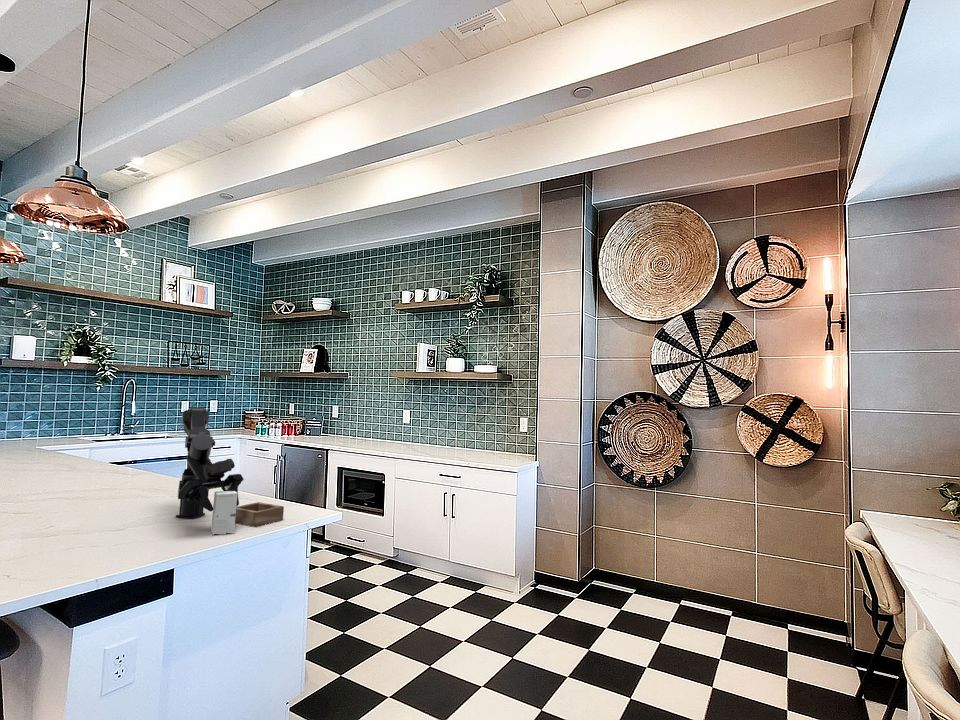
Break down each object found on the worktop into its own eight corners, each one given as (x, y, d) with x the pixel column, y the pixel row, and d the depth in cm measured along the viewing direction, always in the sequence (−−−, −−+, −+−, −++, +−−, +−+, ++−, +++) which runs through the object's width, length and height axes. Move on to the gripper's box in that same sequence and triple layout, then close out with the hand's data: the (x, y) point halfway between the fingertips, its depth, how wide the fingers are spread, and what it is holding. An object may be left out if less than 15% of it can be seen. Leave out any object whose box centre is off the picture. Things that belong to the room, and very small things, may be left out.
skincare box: (212, 535, 159) (215, 494, 160) (210, 532, 163) (213, 491, 164) (235, 533, 163) (238, 492, 163) (232, 530, 166) (235, 490, 167)
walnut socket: (229, 522, 176) (230, 507, 176) (257, 515, 186) (258, 502, 186) (255, 527, 171) (256, 512, 171) (282, 520, 181) (283, 506, 182)
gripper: (189, 452, 158) (213, 495, 153) (241, 448, 175) (264, 486, 170) (169, 477, 161) (192, 520, 155) (222, 470, 178) (244, 509, 172)
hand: (225, 507), depth 163 cm, fingers open, 9 cm apart
